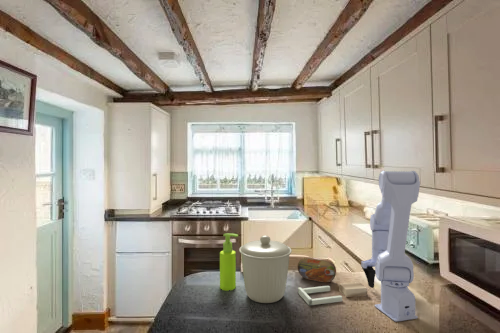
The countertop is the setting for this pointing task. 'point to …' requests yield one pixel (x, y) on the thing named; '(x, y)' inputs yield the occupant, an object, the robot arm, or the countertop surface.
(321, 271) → the tin
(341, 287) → the tan rectangular block
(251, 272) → the canister
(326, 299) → the bracket
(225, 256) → the soap dispenser
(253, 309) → the countertop surface
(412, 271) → the robot arm
